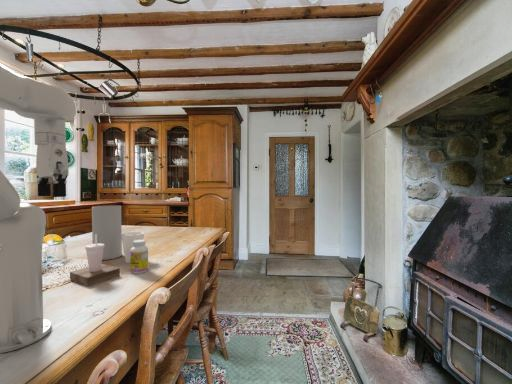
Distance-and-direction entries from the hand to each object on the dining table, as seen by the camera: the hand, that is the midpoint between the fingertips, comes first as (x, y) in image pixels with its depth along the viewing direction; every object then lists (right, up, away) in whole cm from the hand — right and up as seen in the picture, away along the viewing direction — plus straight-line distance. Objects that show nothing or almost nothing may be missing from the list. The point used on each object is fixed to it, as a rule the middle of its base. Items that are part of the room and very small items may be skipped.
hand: (51, 196), depth 80 cm
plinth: (+1, -32, +20) cm, 37 cm away
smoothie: (+1, -29, +19) cm, 35 cm away
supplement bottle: (+15, -32, +27) cm, 44 cm away
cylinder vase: (-10, -31, +48) cm, 58 cm away
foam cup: (+6, -31, +41) cm, 52 cm away
